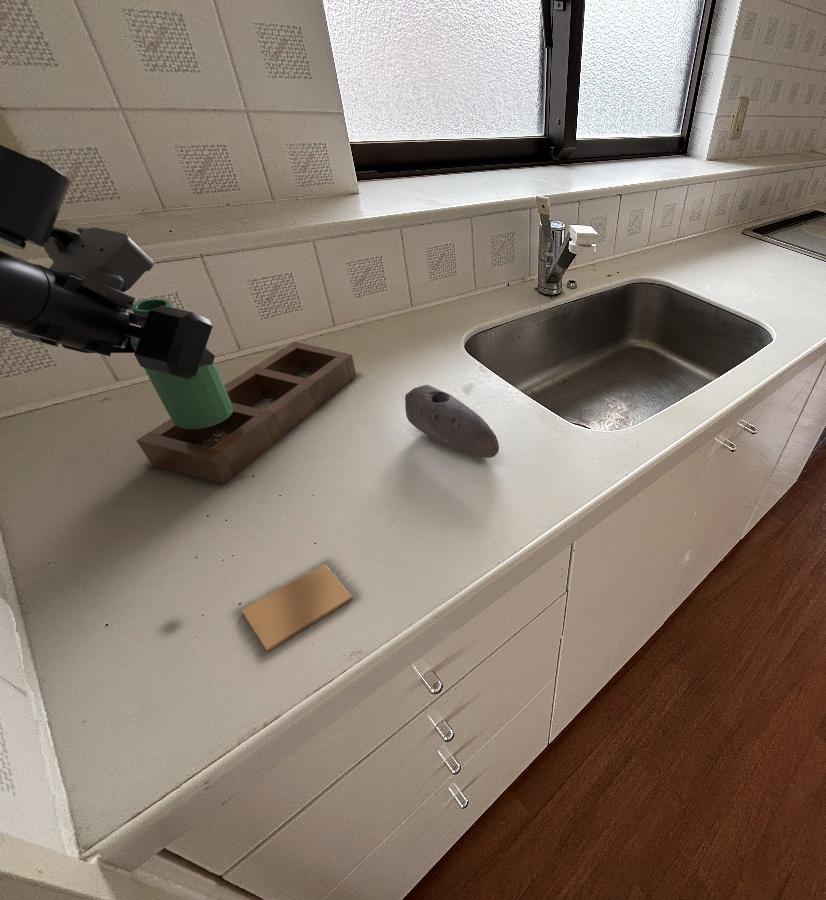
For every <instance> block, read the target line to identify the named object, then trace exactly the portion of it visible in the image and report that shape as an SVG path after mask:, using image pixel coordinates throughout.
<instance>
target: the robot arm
mask: <svg viewBox="0 0 826 900" xmlns="http://www.w3.org/2000/svg"><path fill="white" fill-rule="evenodd" d="M70 184H71V181H70V179H69V178H68V177H67V176H66V175H65V174H63V173H62V172H60V171H59V170H57V169H56V168H54V167H53V166H52V165H49V164H47V163H46V162H44V161H42V160H40V159H37V158H33V157H29V156H27V155H24V154H22V153H20V152H18V151H16V150H14V149H11V148H9V147H7V146H4V145H2V144H0V244H1V245H3V246H7V247H10V248H13V249H16V250H20V251H21V250H22V251H23V250H25V248H26V246H27V243H29V244H32V245H34V246H38V247H41V248H43V249H44V251H45V252H46V254H47V255H48V258H49V259H50V260H51V261H52V264H51V265H50V267H46V266H44V265H41V264H37V263H33V262H30V261H27V260H24V259H22V258H21V257H17V256H15V255H12V254H10V253H8V252H5V251H2V250H0V328H3V329H6V330H9V331H10V332H11V334H12V335H13V336H15V337H18V338H22V339H26V340H29V341H32V342H36V343H39V344H44V345H47V346H52V347H57V348H58V347H59V345H61V347H62V348H64V349H67V350H71V351H76V352H79V353H83V354H99V355H102V356H107V357H111V354H133V356H134V357H135V359H136V361H137V362H138V364H139V366H140V367H141V368H143V369H144V368H147V369H151V370H154V371H158V372H162V373H166V374H170V375H174V376H178V377H182V378H186V379H191V378H192V377H194V376H196V374H197V371H198V368H199V366H205V365H211V364H213V361H214V362H215V359H216V355H215V354H214V353H212V352H211V351H210V350H207V349H206V348H205V347H206V345H207V346H208V341H209V339H210V335H211V332H212V329H213V324H212V322H211V319H210V318H207V317H204V316H202V315H200V314H198V313H195V312H193V311H190V310H189V311H188V310H185V309H180V308H176V307H173V308H172V307H167V306H163V305H162V306H159V307H157V308H154V309H152V310H150V311H149V314H148V316H142V315H138V314H134V313H133V312H129V311H130V310H132V306H133V304H135V300H136V297H135V296H133V295H130V294H128V293H125V292H127V291H129V290H130V289H131V288H132V287H133V286H134V285H135V284H136V283H137V281H139V279H140V278H142V276H143V275H144V274H145V273H146V272H150V271H151V270H152V269H153V267H154V265H155V262H154V260H153V259H152V258H151V257H150V256H149V255H148V254H147V253H146V252H145V251H144V250H143V249H142V248H141V247H140V246H138V244H136V243H135V241H133V240H132V239H131V238H130V236H128V235H127V233H126V234H125V233H123V232H119V231H115V230H110V229H105V228H101V227H89V228H84V227H80V226H79V227H78V228H77V229H76V231H77V232H78V233H77V232H74V231H71V230H68V229H65V228H61V227H56V226H55V224H56V222H57V219H58V216H59V213H60V211H61V208H62V205H63V203H64V200H65V197H66V195H67V193H68V190H69V187H70ZM141 326H143V327H144V328H141ZM131 337H132V338H136V339H139V342H138V345H137V348H136V351H134V349H133V347H132V345H131V343H130V341H131Z"/></svg>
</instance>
